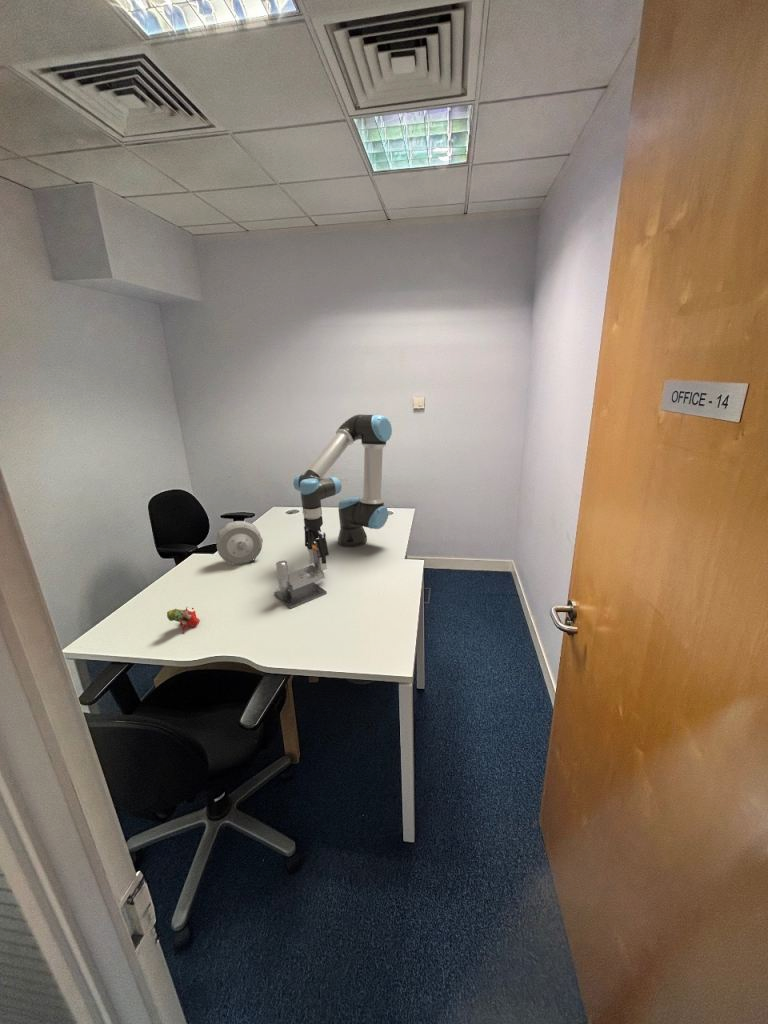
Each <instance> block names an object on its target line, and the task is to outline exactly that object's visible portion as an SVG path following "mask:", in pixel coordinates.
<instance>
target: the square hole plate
mask: <svg viewBox="0 0 768 1024" xmlns="http://www.w3.org/2000/svg"><path fill="white" fill-rule="evenodd" d="M275 566H276V573H277V580H278V585H279V590H277V591H274V592H273V594H274V596H275V597H277V599H278V600H280V601H281V602H282V603H283V604H284V606H286V607H287V608H288V609H290V610H291V609H293V608H296V607H298V606H301V605H303V604H305V603H308V602H311V601H313V600H315V599H317V598H319V597H322V596H324V595H327V590H325V589H324V588H323V587H321V586H320V585H318V584H317V583H315V582H317V581H319V580H322V579H325V577H326V576H325V572H324V571H323V572H322V571H320V570H319V569H317V568H316V567H314V564H311V565H308V566H306V567H302V568H299V569H297V570H294V571H292V572H289V568H288V567H289V566H288V561H287V560H279V561H277V562H275ZM306 575H308V576H306ZM304 576H305V577H304ZM302 577H303V578H302Z"/></svg>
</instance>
